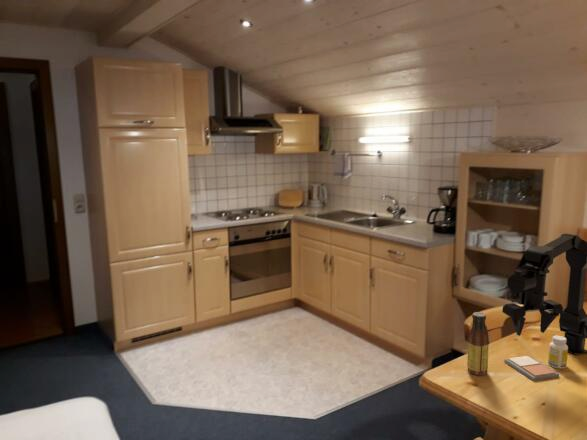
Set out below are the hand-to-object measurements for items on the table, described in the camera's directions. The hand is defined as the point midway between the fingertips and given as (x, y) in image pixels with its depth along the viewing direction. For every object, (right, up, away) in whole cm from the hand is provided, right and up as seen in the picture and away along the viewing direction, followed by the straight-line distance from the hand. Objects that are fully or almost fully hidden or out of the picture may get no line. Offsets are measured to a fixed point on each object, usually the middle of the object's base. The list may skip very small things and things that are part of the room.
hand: (530, 333), depth 152 cm
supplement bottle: (+12, -12, +5) cm, 17 cm away
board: (+1, -12, +3) cm, 13 cm away
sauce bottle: (-17, -13, +1) cm, 21 cm away
